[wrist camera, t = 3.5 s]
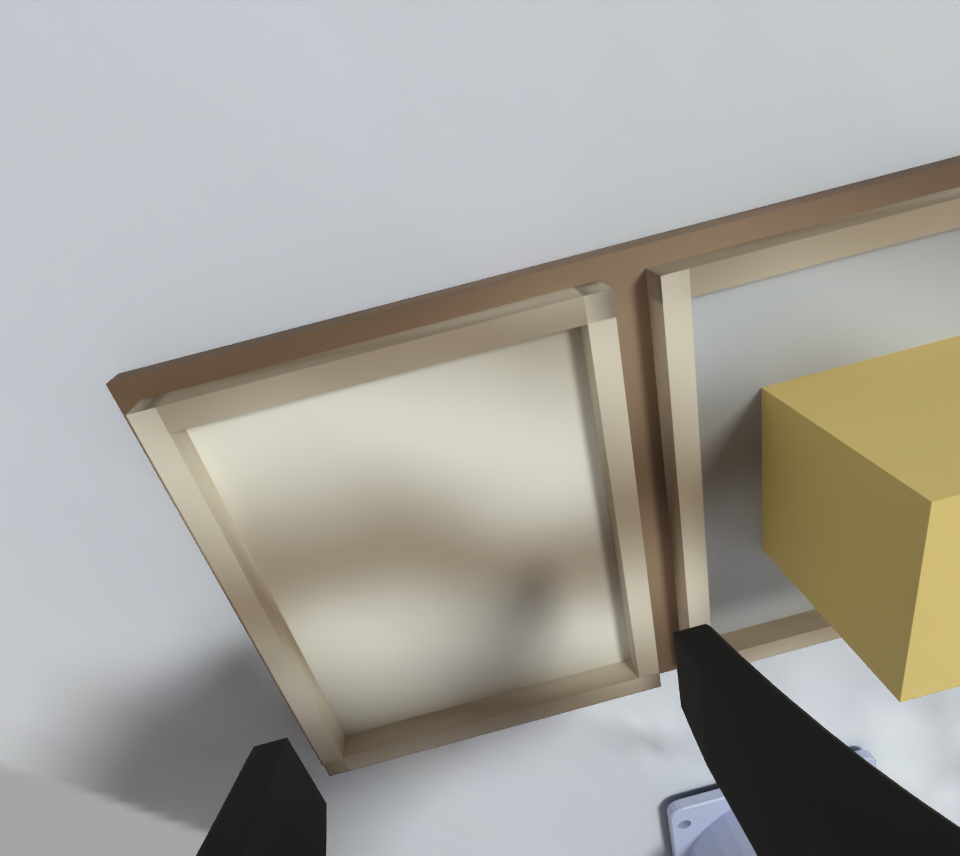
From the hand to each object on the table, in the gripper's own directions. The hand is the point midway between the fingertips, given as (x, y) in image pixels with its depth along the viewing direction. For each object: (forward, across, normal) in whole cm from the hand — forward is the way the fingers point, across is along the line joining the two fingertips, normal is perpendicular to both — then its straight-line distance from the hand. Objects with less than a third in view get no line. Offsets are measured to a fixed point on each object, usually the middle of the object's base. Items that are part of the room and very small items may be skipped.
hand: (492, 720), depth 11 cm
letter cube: (+5, -10, 0) cm, 11 cm away
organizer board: (+6, -9, 0) cm, 11 cm away
